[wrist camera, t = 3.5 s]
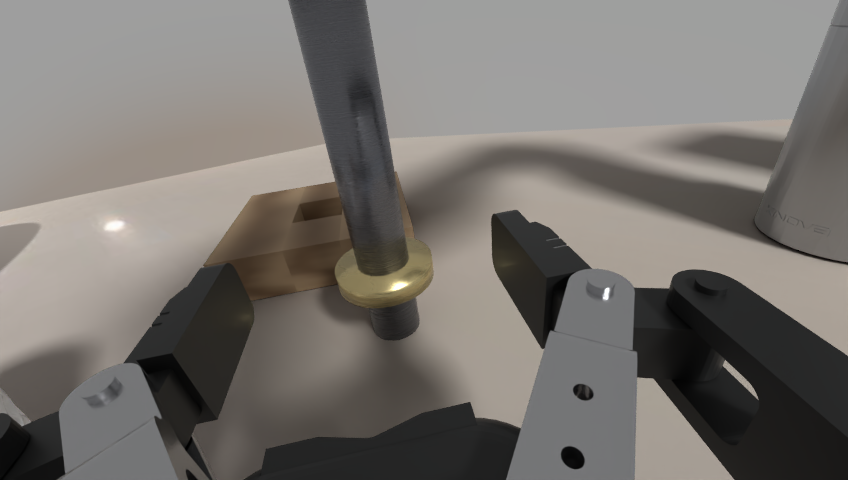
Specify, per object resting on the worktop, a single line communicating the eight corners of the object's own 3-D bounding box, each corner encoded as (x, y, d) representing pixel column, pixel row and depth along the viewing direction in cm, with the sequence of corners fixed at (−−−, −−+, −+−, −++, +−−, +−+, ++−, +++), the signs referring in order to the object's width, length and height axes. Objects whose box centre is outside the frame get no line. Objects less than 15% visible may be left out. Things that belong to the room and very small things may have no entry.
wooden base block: (401, 203, 42) (396, 171, 40) (419, 268, 30) (412, 226, 28) (264, 227, 41) (252, 195, 39) (224, 305, 29) (203, 265, 27)
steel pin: (431, 288, 27) (386, -34, 17) (448, 345, 22) (398, -68, 12) (353, 303, 27) (262, -19, 17) (352, 366, 22) (219, -47, 12)
